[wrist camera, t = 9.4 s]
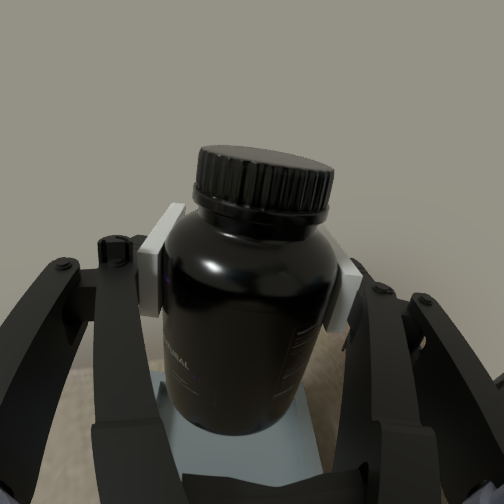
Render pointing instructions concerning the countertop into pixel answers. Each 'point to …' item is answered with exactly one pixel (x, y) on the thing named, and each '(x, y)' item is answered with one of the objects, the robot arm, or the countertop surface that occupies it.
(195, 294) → the supplement bottle
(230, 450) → the tray
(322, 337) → the countertop surface
